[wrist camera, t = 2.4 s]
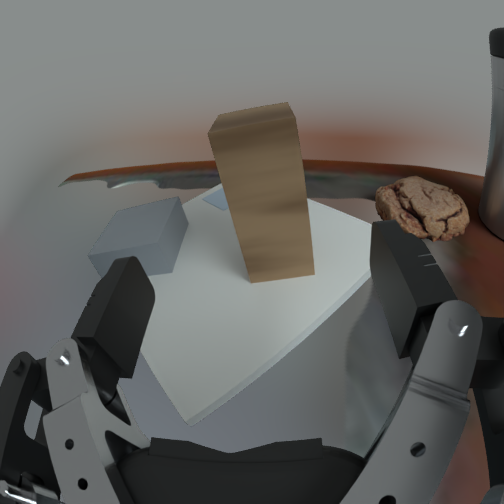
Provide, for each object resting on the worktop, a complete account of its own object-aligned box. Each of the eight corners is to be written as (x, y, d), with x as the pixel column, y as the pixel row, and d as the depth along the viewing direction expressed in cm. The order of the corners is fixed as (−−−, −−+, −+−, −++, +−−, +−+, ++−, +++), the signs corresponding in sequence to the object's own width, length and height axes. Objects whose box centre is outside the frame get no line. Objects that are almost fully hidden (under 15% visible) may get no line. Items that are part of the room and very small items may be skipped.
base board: (240, 180, 41) (232, 151, 38) (398, 245, 24) (403, 202, 21) (97, 263, 32) (80, 233, 29) (189, 428, 15) (156, 401, 13)
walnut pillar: (252, 244, 27) (218, 114, 20) (307, 236, 26) (287, 102, 19) (250, 283, 23) (207, 133, 16) (314, 274, 22) (295, 117, 15)
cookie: (474, 251, 22) (481, 224, 20) (371, 239, 26) (372, 212, 24) (458, 197, 28) (461, 175, 26) (377, 189, 33) (377, 166, 31)
